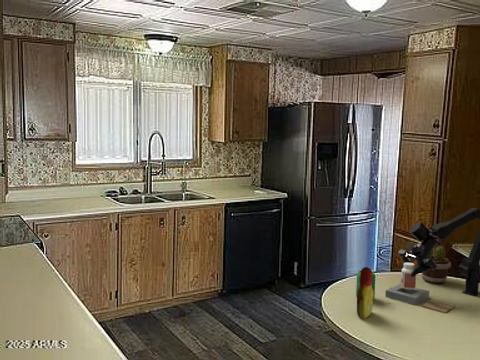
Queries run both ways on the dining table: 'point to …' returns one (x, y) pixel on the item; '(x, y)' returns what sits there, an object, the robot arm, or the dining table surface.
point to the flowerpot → (442, 267)
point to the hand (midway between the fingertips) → (406, 273)
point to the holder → (407, 294)
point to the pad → (438, 306)
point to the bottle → (365, 294)
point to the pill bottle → (408, 276)
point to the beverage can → (371, 283)
